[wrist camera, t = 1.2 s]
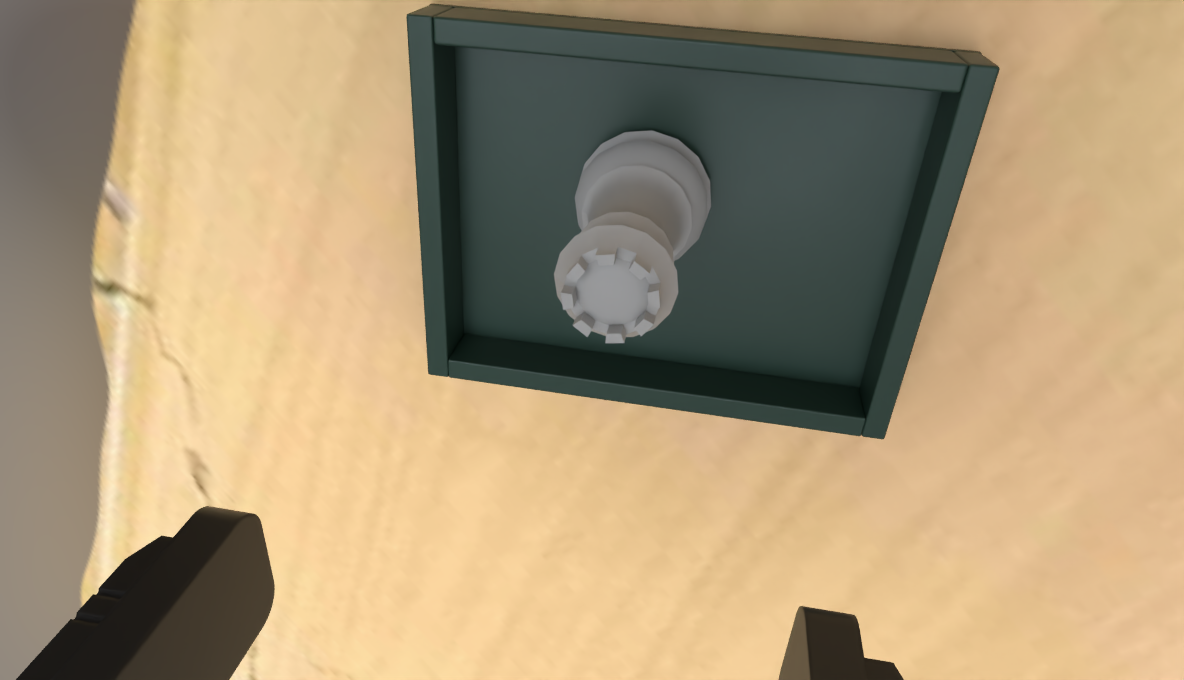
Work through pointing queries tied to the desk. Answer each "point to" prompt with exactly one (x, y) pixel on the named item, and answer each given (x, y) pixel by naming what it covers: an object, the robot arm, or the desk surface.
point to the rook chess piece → (631, 234)
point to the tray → (735, 220)
